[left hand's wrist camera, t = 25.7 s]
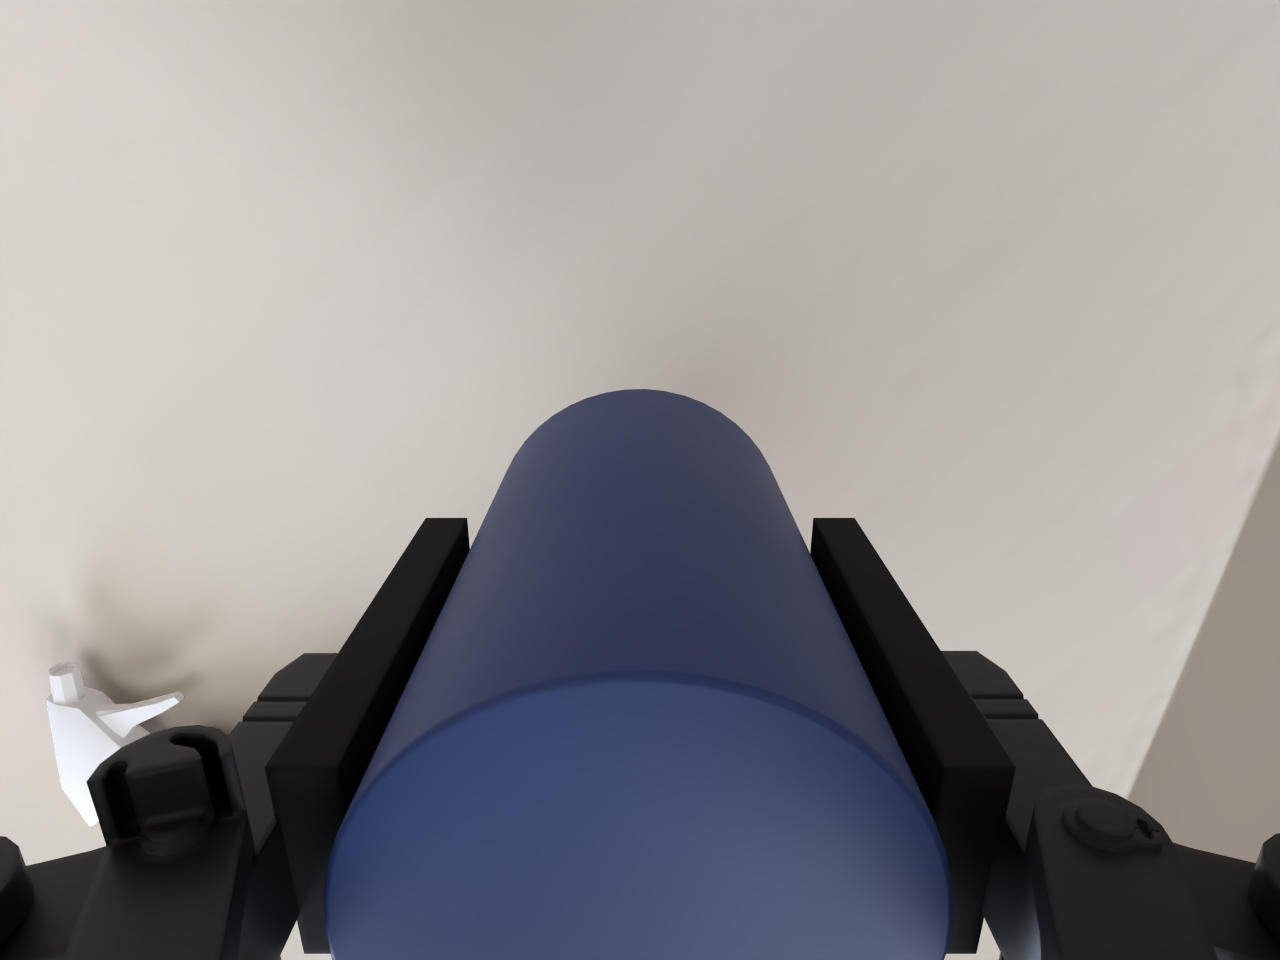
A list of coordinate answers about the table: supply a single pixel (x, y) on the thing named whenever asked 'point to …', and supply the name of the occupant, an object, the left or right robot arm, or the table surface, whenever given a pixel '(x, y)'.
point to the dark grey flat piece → (92, 729)
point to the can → (638, 730)
